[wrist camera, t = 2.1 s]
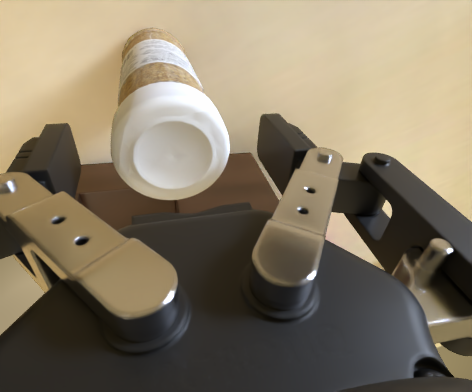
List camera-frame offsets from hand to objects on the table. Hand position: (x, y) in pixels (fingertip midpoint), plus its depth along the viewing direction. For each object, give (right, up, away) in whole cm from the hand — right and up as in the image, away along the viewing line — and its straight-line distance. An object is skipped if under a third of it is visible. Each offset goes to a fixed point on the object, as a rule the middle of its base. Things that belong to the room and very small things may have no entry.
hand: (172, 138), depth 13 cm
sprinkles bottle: (-3, +7, +9) cm, 12 cm away
